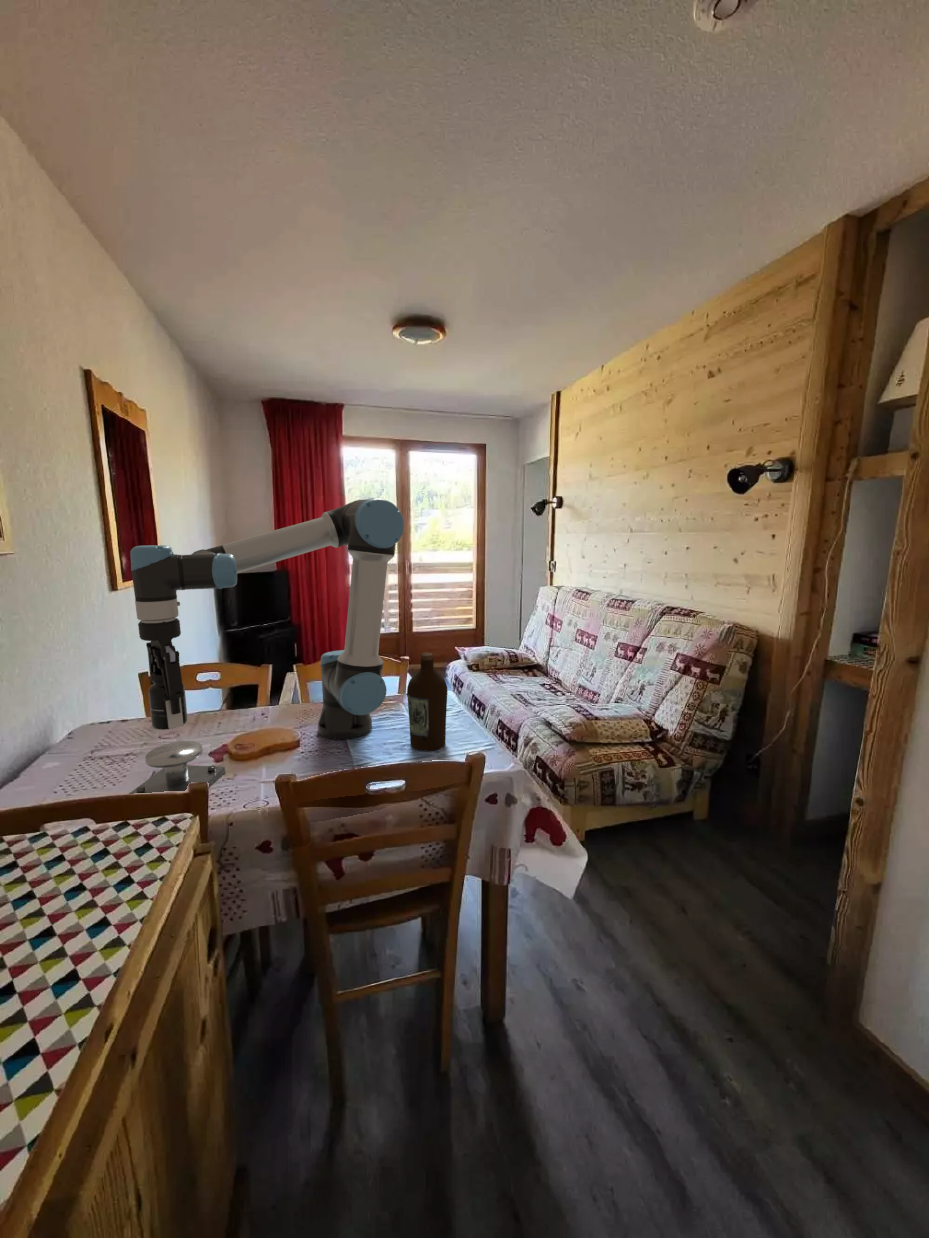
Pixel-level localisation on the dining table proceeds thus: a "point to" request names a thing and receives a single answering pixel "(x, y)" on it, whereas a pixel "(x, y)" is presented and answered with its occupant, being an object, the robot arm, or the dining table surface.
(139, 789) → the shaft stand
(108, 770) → the dining table surface
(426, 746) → the olive oil
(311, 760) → the dining table surface
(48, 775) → the dining table surface
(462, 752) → the dining table surface
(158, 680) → the supplement bottle
